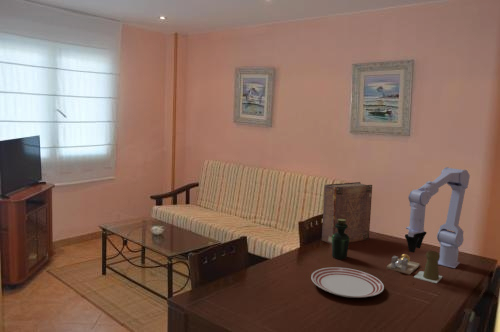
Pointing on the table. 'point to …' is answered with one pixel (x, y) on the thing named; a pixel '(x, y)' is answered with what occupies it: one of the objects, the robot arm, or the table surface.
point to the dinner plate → (347, 282)
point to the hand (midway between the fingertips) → (414, 249)
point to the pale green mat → (420, 276)
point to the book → (347, 210)
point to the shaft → (401, 260)
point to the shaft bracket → (403, 265)
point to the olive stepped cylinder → (431, 266)
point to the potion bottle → (340, 241)
